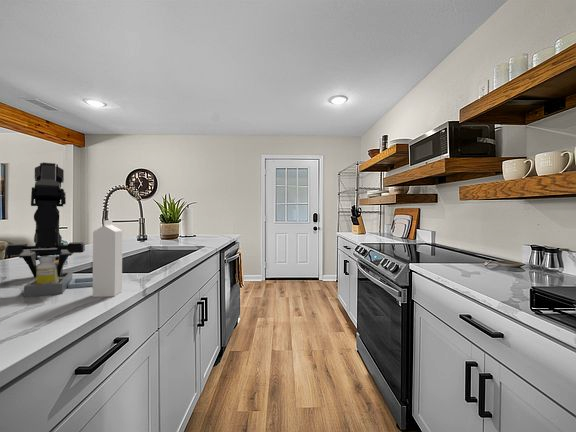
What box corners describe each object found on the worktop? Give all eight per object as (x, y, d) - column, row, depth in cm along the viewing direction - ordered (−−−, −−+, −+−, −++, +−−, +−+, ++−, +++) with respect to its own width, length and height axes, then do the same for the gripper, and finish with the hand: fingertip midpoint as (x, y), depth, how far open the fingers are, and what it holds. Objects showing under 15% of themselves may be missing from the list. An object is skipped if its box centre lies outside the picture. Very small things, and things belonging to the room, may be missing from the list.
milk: (122, 291, 98) (123, 220, 98) (114, 296, 92) (115, 220, 92) (100, 292, 97) (101, 219, 97) (91, 297, 91) (93, 220, 91)
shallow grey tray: (40, 282, 108) (40, 259, 108) (72, 280, 112) (72, 258, 112) (24, 296, 90) (24, 269, 90) (62, 293, 95) (62, 267, 94)
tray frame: (72, 282, 110) (72, 278, 110) (104, 279, 114) (104, 276, 114) (68, 288, 101) (68, 284, 101) (103, 285, 106) (103, 281, 106)
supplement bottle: (46, 285, 100) (46, 254, 100) (62, 286, 100) (62, 255, 99) (31, 290, 95) (31, 257, 94) (48, 290, 94) (48, 257, 94)
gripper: (86, 224, 108) (86, 270, 108) (16, 224, 100) (16, 274, 100) (82, 225, 98) (82, 276, 99) (4, 226, 90) (4, 281, 90)
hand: (47, 276), depth 97 cm, fingers closed on supplement bottle, 5 cm apart
